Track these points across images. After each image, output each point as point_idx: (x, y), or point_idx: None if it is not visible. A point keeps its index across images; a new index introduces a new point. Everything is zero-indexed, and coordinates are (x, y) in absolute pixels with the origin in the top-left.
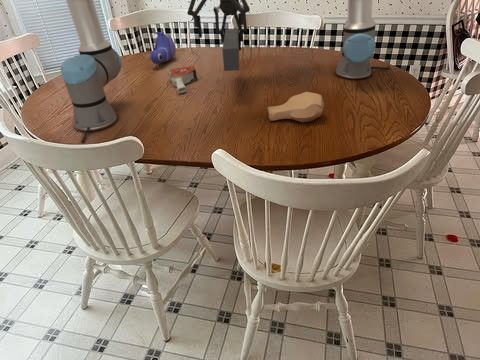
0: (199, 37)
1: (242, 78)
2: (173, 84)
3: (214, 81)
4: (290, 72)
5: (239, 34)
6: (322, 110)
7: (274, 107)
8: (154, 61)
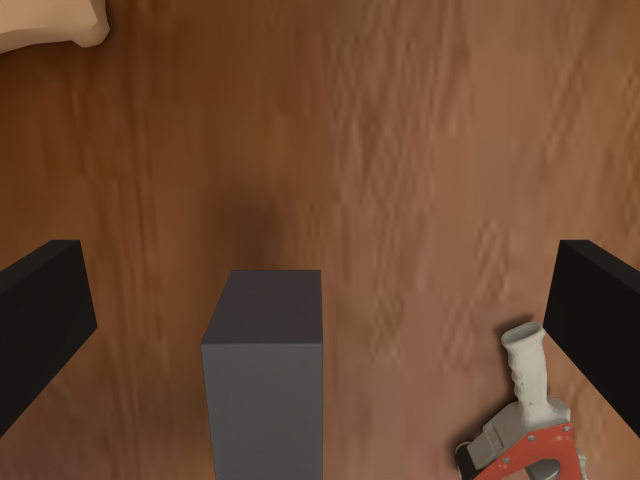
0: (587, 240)
1: None
2: (555, 398)
3: (378, 426)
4: (69, 473)
5: (68, 246)
6: None
7: (58, 10)
8: None
